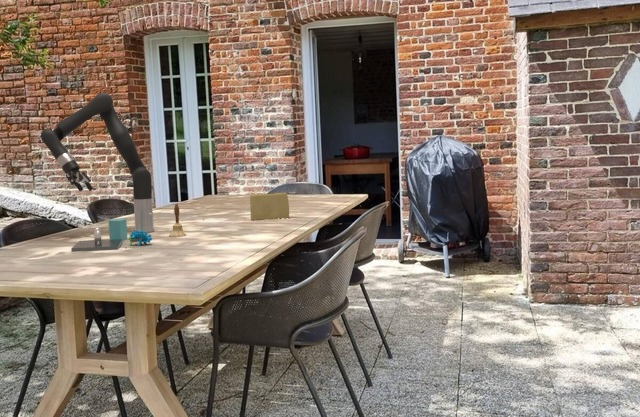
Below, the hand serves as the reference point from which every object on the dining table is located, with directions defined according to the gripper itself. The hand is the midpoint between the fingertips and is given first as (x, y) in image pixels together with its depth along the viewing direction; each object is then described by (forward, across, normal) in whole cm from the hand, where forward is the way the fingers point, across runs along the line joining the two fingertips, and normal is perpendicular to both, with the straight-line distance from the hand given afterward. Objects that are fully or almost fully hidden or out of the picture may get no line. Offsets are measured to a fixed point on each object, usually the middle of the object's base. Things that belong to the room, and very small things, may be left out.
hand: (86, 190), depth 344 cm
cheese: (+58, +79, -43) cm, 106 cm away
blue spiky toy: (+41, -11, -12) cm, 44 cm away
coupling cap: (+29, 0, +2) cm, 29 cm away
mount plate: (+30, -18, +2) cm, 35 cm away
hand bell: (+43, +16, -18) cm, 49 cm away
